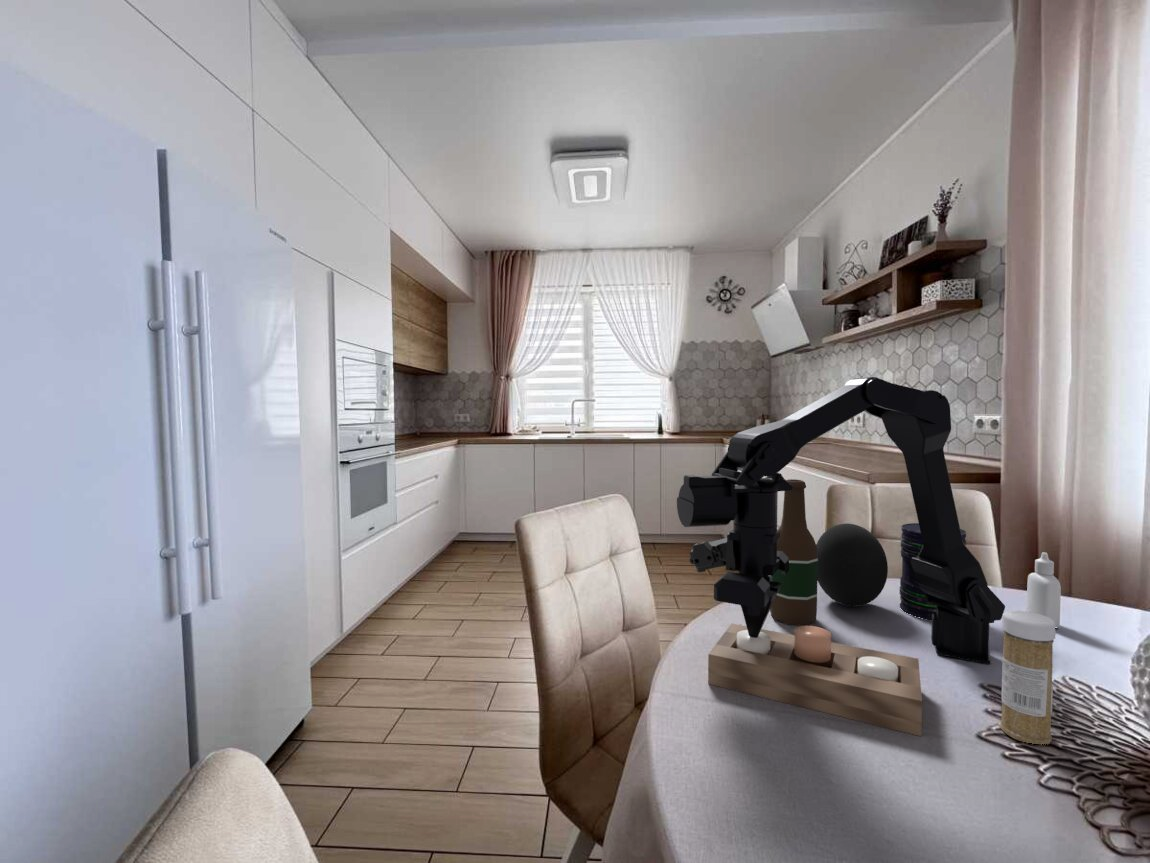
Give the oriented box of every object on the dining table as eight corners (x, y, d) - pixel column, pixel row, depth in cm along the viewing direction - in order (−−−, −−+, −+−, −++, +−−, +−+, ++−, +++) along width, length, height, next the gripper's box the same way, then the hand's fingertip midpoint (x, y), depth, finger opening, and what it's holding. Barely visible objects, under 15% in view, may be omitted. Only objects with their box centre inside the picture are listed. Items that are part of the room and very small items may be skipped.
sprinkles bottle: (1058, 738, 62) (1062, 618, 61) (1042, 752, 59) (1046, 627, 58) (1008, 719, 65) (1011, 605, 65) (991, 731, 63) (995, 613, 62)
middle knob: (832, 651, 74) (832, 629, 74) (828, 665, 70) (829, 641, 70) (796, 645, 76) (797, 623, 76) (791, 657, 72) (792, 634, 72)
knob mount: (917, 688, 72) (918, 658, 72) (921, 736, 62) (922, 701, 62) (731, 649, 84) (731, 623, 84) (708, 683, 74) (708, 654, 74)
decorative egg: (875, 622, 95) (877, 534, 94) (802, 605, 103) (803, 524, 102) (894, 603, 104) (896, 523, 103) (825, 589, 112) (827, 515, 111)
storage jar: (978, 622, 94) (981, 535, 94) (920, 622, 95) (922, 535, 94) (940, 602, 104) (942, 523, 104) (888, 602, 104) (889, 523, 104)
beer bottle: (812, 630, 92) (815, 484, 91) (764, 620, 96) (765, 481, 95) (820, 615, 98) (822, 479, 97) (774, 606, 102) (776, 476, 101)
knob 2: (897, 684, 70) (897, 661, 70) (897, 700, 66) (898, 675, 66) (858, 676, 72) (858, 653, 72) (856, 691, 68) (856, 667, 68)
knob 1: (773, 655, 78) (773, 633, 77) (766, 667, 74) (766, 645, 74) (740, 648, 80) (741, 627, 80) (733, 660, 76) (733, 638, 76)
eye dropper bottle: (1059, 621, 95) (1062, 551, 94) (1059, 631, 91) (1062, 558, 90) (1026, 615, 98) (1028, 547, 97) (1025, 625, 93) (1027, 554, 93)
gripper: (715, 507, 88) (714, 605, 89) (674, 530, 72) (674, 649, 73) (790, 514, 82) (788, 618, 83) (764, 540, 66) (762, 669, 67)
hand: (753, 636), depth 77 cm, fingers closed, pressing on knob 1
